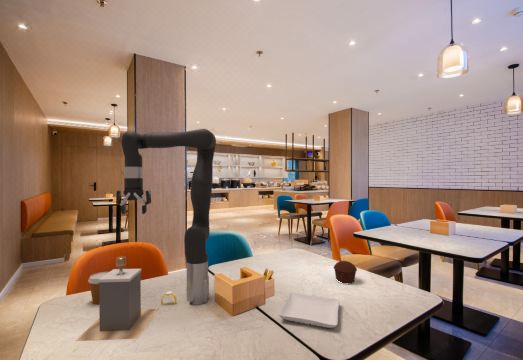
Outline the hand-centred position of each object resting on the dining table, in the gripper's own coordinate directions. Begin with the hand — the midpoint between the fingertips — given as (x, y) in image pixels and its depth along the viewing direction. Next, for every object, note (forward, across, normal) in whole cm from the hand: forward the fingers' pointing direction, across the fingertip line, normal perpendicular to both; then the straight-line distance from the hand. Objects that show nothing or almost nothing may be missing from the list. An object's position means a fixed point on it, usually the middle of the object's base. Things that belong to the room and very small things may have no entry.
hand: (133, 213), depth 117 cm
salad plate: (+39, +75, -17) cm, 86 cm away
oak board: (+38, +4, -21) cm, 44 cm away
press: (+37, +4, -21) cm, 43 cm away
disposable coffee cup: (+38, -13, -2) cm, 40 cm away
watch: (+38, +17, -7) cm, 43 cm away
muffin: (+38, +101, +15) cm, 109 cm away
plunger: (+34, +4, -21) cm, 40 cm away
